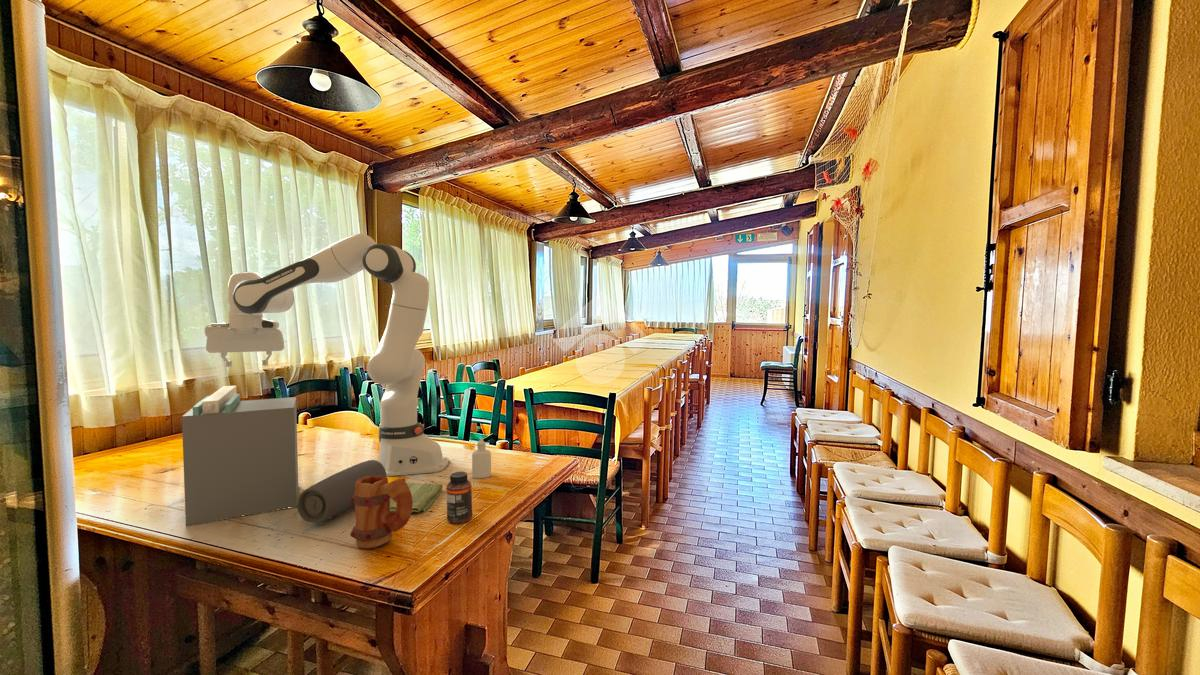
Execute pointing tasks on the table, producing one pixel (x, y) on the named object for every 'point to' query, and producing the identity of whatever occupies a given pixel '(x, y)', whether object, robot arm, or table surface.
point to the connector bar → (218, 399)
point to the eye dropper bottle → (481, 461)
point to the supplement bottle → (459, 498)
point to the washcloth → (420, 496)
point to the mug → (379, 509)
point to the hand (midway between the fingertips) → (247, 366)
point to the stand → (240, 459)
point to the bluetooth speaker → (335, 492)
